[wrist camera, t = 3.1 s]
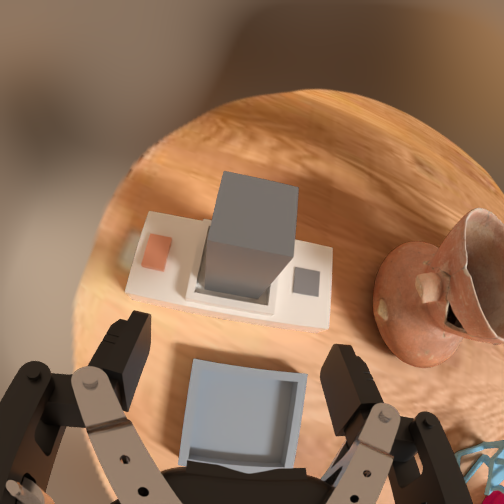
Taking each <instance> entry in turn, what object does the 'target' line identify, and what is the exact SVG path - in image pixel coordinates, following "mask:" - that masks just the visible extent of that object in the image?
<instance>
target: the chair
mask: <svg viewBox="0 0 504 504" xmlns="http://www.w3.org/2000/svg"><path fill="white" fill-rule="evenodd" d="M488 448H499V449H498V451H497V452H496V453H495V454H494V455H493V456H492V457H491V458H490V457H489V456H488V455H484V454H483V455H482V456H481V457H480V458H479V459H478V460H477V462H476V463H475V464H474V465H473V467H472V468H471V469H470V471H469V472H468V473H467V474H466V476H465V477H464V480H465V483H467V482H468V481H469V479H470V478H471V477H472V476H473V474H474V473H475V472H476V471H477V469H478V468H479V467H480V466H481V465H482V463H483V462H484V463H485V464H486V465H487V466H488V467H489V475H488V481H487V485H486V488H485V493H484V495H488V496H489V495H490V494H491V493H492V492H493V491H497V490H498V491H501V492H502V493H503V494H504V487H503V486H502V485H499V484H500V483H501V482H502V481H503V480H504V440H501V441H495V442H482V443H480V444H478V445H476V446H473V447H470V448H467V449H463V450H460V451H458V452H456V453H455V454H454V455H455V458H456V460H457V462H458V465H459V467H460V458H461V456H463V455H467V454H471V453H474V452H478V451H481V450H483V449H488Z"/></svg>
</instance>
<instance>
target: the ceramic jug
mask: <svg viewBox="0 0 504 504" xmlns="http://www.w3.org/2000/svg"><path fill="white" fill-rule="evenodd" d="M373 312H374V316H375V321H376V324H377V327H378V330H379V332H380V334H381V336H382V338H383V340H384V342H385V343H386V345H387V346H388V348H389V349H390V350H391V352H392V353H393V354H394V355H395V356H397V357H398V358H399V359H400V360H402V361H403V362H405V363H407V364H409V365H412V366H415V367H420V368H428V367H433V366H436V365H439V364H441V363H443V362H444V361H446V360H447V359H448V358H449V357H451V356H452V355H453V353H454V352H455V351H456V350H457V348H458V346H459V345H460V343H461V341H462V339H463V338H467V339H471V340H475V341H480V342H485V343H504V224H503V223H502V222H501V221H500V220H499V219H498V218H497V217H496V216H495V215H494V214H493V213H492V212H490V211H488V210H486V209H483V208H475V209H473V210H471V211H469V212H468V213H467V214H466V215H465V216H464V217H462V218H461V220H460V221H459V222H458V223H457V224H456V225H455V226H454V228H453V229H452V230H451V231H450V233H449V234H448V235H447V237H446V238H445V240H444V241H443V243H442V244H441V246H440V247H439V248H438V247H436V246H435V245H432V244H430V243H426V242H421V241H413V242H407V243H404V244H401V245H400V246H398V247H396V248H395V249H394V250H393V251H392V252H390V253H389V255H388V256H387V257H386V258H385V260H384V261H383V263H382V265H381V266H380V269H379V271H378V273H377V276H376V280H375V285H374V294H373Z"/></svg>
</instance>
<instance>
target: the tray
mask: <svg viewBox="0 0 504 504" xmlns="http://www.w3.org/2000/svg"><path fill="white" fill-rule="evenodd" d="M307 375H308V374H302V373H291V372H281V371H272V370H263V369H255V368H248V367H241V366H234V365H227V364H221V363H215V362H210V361H204V360H199V359H193V364H192V370H191V376H190V383H189V389H188V396H187V402H186V409H185V416H184V423H183V430H182V438H181V445H180V453H179V461H178V465H181V466H186V465H187V460H189V461H195V462H202V463H209V464H217V465H220V466H223V467H227V468H230V469H233V470H236V471H240V472H243V473H248V474H250V473H257V472H262V471H268V470H273V469H278V468H293V466H294V460H295V455H296V449H297V443H298V437H299V431H300V425H301V419H302V412H303V405H304V398H305V390H306V383H307Z"/></svg>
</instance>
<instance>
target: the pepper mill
mask: <svg viewBox="0 0 504 504" xmlns="http://www.w3.org/2000/svg"><path fill="white" fill-rule="evenodd" d="M482 504H504V494H503V493H502V492H501V491H498V490H497V491H493V492H492V493H491V494H490V495H489V496H488V495H487V497H486V498H485V499H484V501H483V503H482Z"/></svg>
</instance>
